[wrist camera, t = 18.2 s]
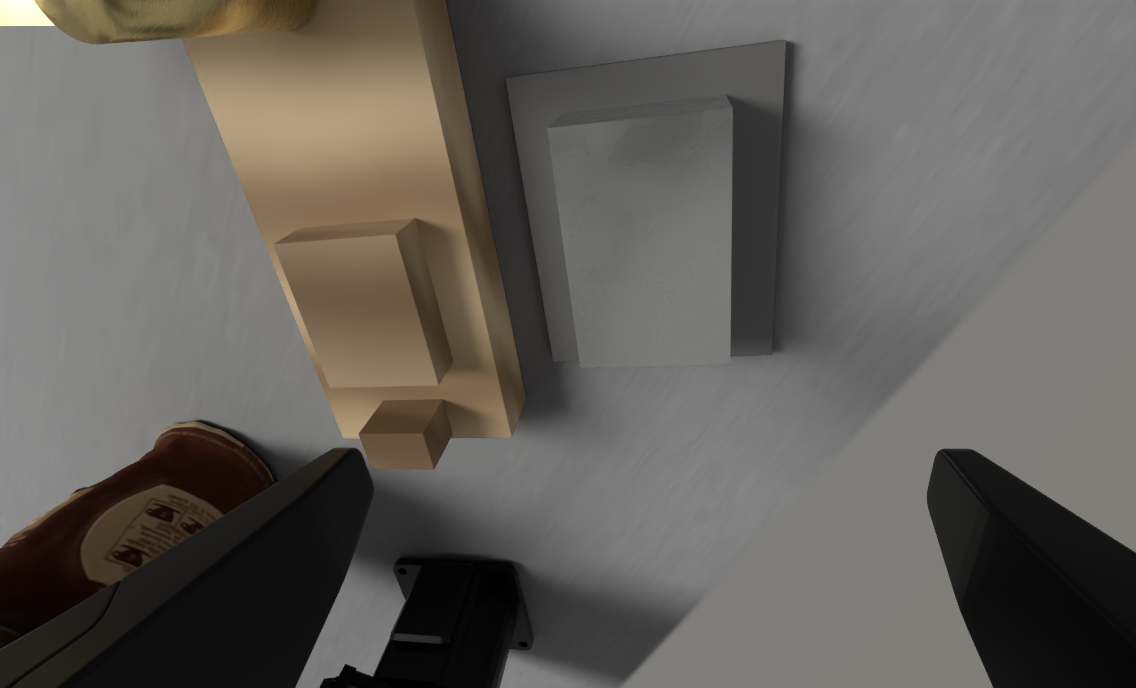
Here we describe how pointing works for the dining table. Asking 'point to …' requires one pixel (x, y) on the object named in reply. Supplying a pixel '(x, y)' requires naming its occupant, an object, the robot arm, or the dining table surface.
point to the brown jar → (123, 523)
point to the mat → (727, 71)
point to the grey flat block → (647, 230)
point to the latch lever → (157, 17)
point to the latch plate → (374, 218)
